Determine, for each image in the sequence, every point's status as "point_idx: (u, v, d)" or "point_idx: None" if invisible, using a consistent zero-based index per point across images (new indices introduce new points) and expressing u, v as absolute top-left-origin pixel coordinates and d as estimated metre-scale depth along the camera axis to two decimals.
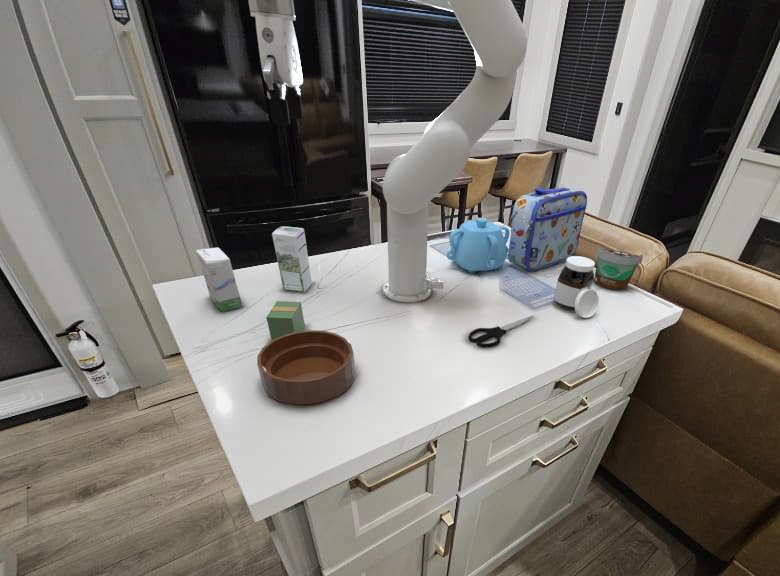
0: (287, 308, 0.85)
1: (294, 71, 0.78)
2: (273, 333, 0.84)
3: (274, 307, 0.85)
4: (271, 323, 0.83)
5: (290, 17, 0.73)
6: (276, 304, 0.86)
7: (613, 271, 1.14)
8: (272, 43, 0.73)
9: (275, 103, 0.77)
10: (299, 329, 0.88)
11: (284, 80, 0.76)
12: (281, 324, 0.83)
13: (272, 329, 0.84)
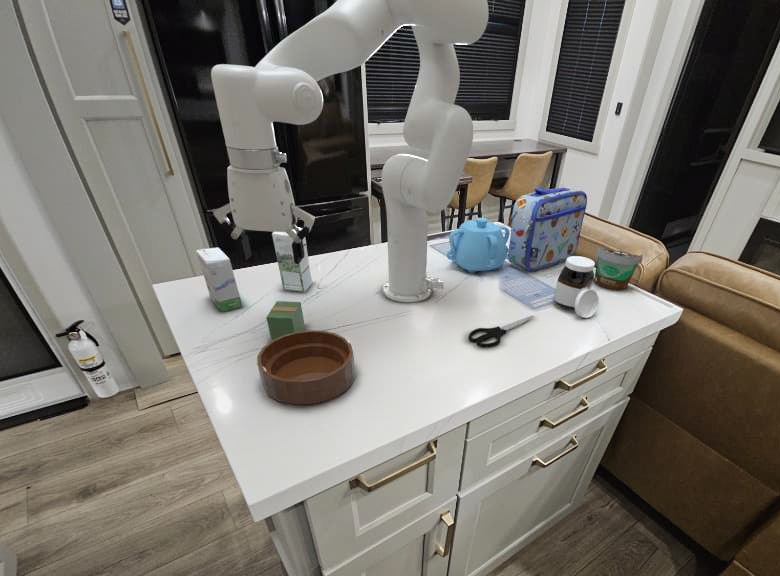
0: (287, 308, 0.85)
1: None
2: (273, 333, 0.84)
3: (274, 307, 0.85)
4: (271, 323, 0.83)
5: None
6: (276, 304, 0.86)
7: (613, 271, 1.14)
8: (290, 192, 0.72)
9: (301, 244, 0.77)
10: (299, 329, 0.88)
11: (296, 221, 0.76)
12: (281, 324, 0.83)
13: (272, 329, 0.84)
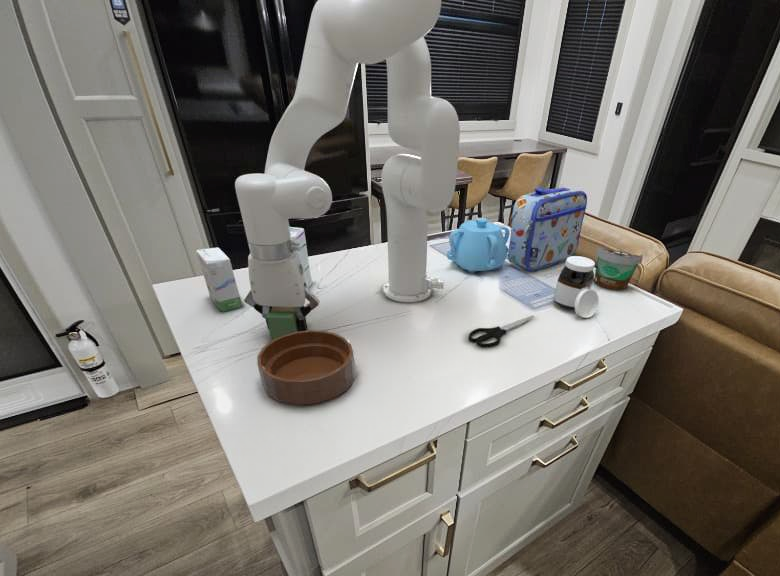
0: (287, 308, 0.85)
1: None
2: (273, 333, 0.84)
3: (274, 307, 0.85)
4: (271, 323, 0.83)
5: None
6: None
7: (613, 271, 1.14)
8: (303, 273, 0.81)
9: (304, 319, 0.86)
10: None
11: None
12: (281, 324, 0.83)
13: (272, 329, 0.84)
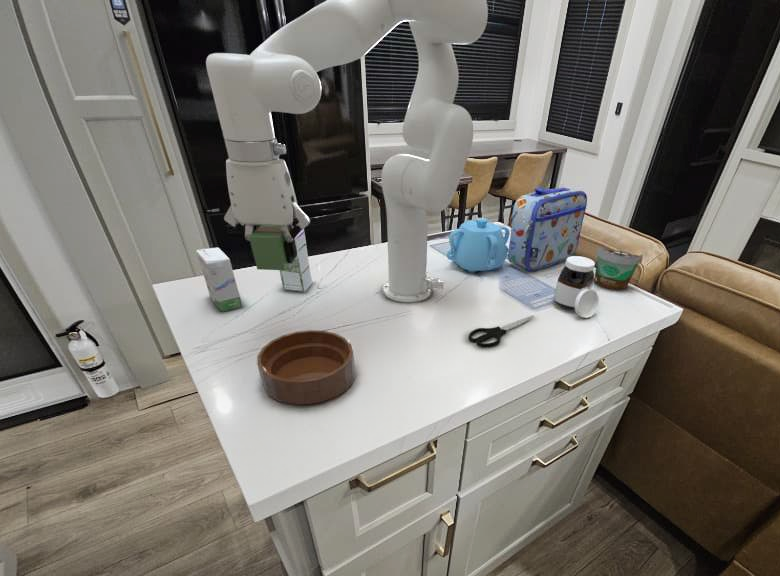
0: (273, 229, 0.75)
1: None
2: (258, 257, 0.74)
3: (259, 228, 0.75)
4: (255, 244, 0.73)
5: None
6: (262, 226, 0.76)
7: (613, 271, 1.14)
8: (290, 184, 0.71)
9: (293, 243, 0.76)
10: None
11: None
12: (266, 245, 0.73)
13: (256, 252, 0.74)
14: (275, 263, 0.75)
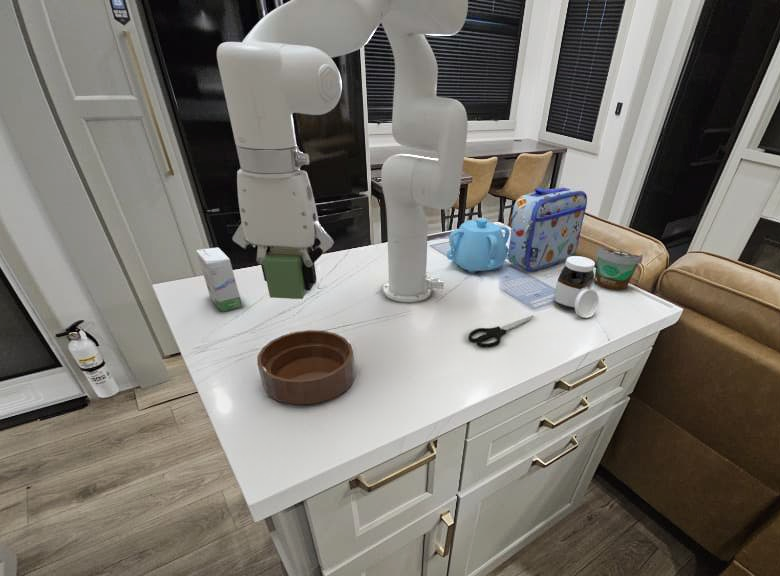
0: (290, 251, 0.64)
1: None
2: (271, 284, 0.63)
3: (273, 250, 0.64)
4: (268, 269, 0.62)
5: None
6: (276, 247, 0.65)
7: (613, 271, 1.14)
8: (312, 200, 0.60)
9: (313, 267, 0.65)
10: None
11: None
12: (282, 270, 0.62)
13: (270, 278, 0.63)
14: (292, 290, 0.64)
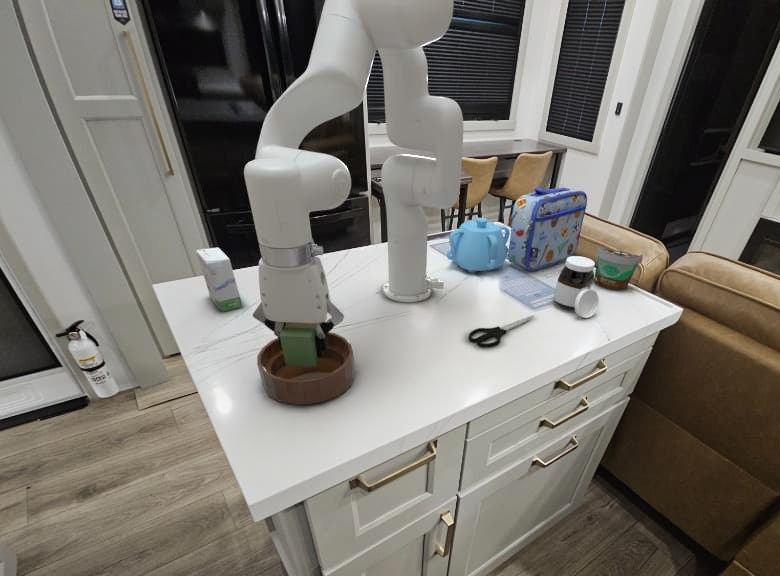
0: (304, 324, 0.71)
1: None
2: (287, 354, 0.70)
3: (288, 323, 0.70)
4: (285, 343, 0.68)
5: None
6: None
7: (613, 271, 1.14)
8: (325, 282, 0.66)
9: (324, 338, 0.72)
10: None
11: None
12: (297, 344, 0.68)
13: (286, 350, 0.69)
14: (306, 360, 0.70)
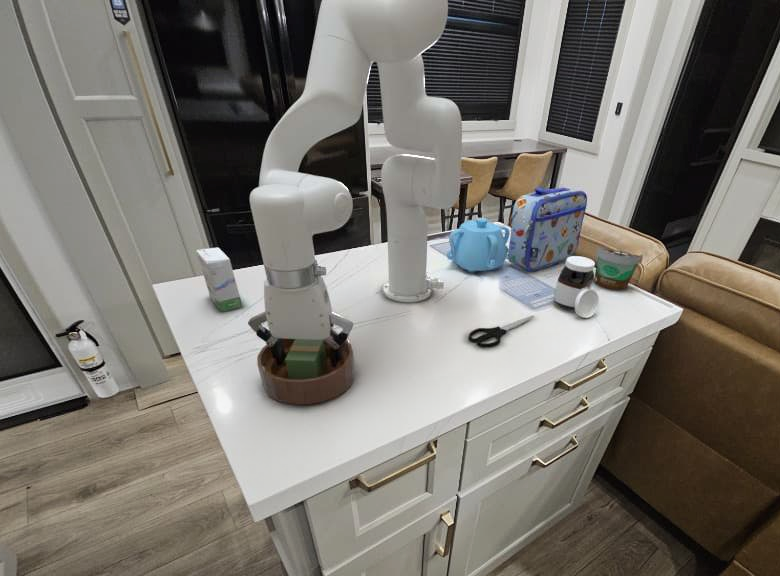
0: (308, 347, 0.74)
1: None
2: (292, 377, 0.73)
3: (293, 346, 0.73)
4: (290, 366, 0.71)
5: None
6: (296, 342, 0.75)
7: (613, 271, 1.14)
8: (328, 301, 0.69)
9: (338, 348, 0.73)
10: (322, 370, 0.76)
11: (333, 324, 0.73)
12: (302, 367, 0.71)
13: (291, 372, 0.72)
14: None
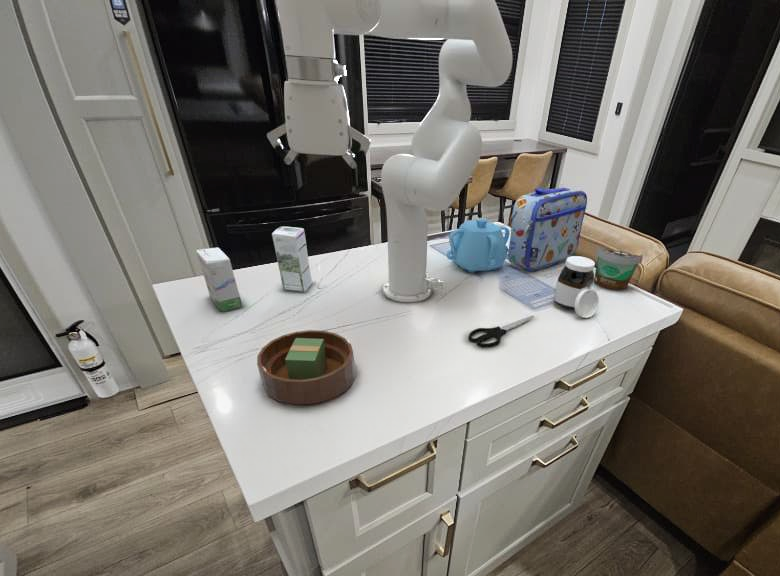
0: (308, 347, 0.74)
1: None
2: (292, 377, 0.73)
3: (293, 346, 0.73)
4: (290, 366, 0.71)
5: None
6: (296, 342, 0.75)
7: (613, 271, 1.14)
8: (347, 111, 0.69)
9: (356, 170, 0.74)
10: (322, 370, 0.76)
11: (351, 145, 0.73)
12: (302, 367, 0.71)
13: (291, 372, 0.72)
14: None
